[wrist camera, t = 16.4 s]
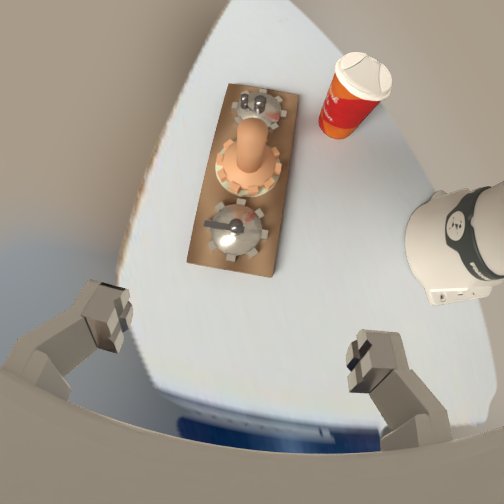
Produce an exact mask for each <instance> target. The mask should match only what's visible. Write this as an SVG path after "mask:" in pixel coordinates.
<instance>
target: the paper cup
mask: <svg viewBox="0 0 504 504" xmlns="http://www.w3.org/2000/svg"><path fill="white" fill-rule="evenodd" d="M391 86H392V77H391V75H390V73H389V71H388V69H387V68H386V67H385V66H384V65H383V64H382V63H381V64H380V63H379V62H378V60H376V59H374V58H372V57H369V56H366V54H365V53H360V52H352V53H348V54H346V55H345V56H344V57H341V58H340V59H339V60H338V61H337V62H336V64H335V74H334V77H333V80H332V83H331V85H330V88H329V91H328V93H327V96H326V99H325V102H324V104H323V107H322V110H321V113H320V116H319V126H320V128H321V130H322V131H323V132H324V133H325V134H326V135H328V136H329V137H331V138H334V139H344V138H346V137H348V136H349V135H350V134H351V133H352V132H353V131H354V130H355V129H356V128H357V127H358V125H359V124H360V123H361V122H362V121H363V120H364V119H365V118H366V117H367V116H368V115H369V113H370V112H371V111H372V110H373V109H374V108H375V107H376V106H377V105H378V104H379V102H380V101H381V100H384V99H386V98H387V97H388V96H389V95H390V93H391V88H392V87H391Z"/></svg>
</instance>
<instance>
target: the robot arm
mask: <svg viewBox="0 0 504 504" xmlns="http://www.w3.org/2000/svg"><path fill="white" fill-rule="evenodd" d="M405 249H406V255H407V259H408V262H409V265H410V268H411V270H412V272H413V274H414V275H415V277H416V278H417V279H418V281H419V282H420V283H421V284H422V285H423V287H424V288H425V291H426V294H427V297H428V299H429V302H430V303H431V304H432V305H440V304H447V303H453V302H459V301H465V300H471V299H477V298H482V297H487V296H488V295H489V294H490V292H491V289H492V287H493V285H499V284H501V283H502V281H503V279H504V181H503V182H502V183H499V184H497V185H495V186H493V187H489V186H487V187H483V188H478V189H475V190H473V191H472V192H471V191H469V189H461V190H458V191H455V192H452V193H449V194H447V193H445V192H444V191H437V192H435V193H434V195H433V196H432V198H431V199H430V201H429V202H428V203H426V204H424V205H422V206H420V207H419V208H418V209H416V210H415V212H414V213H413V214H412V216H411V218H410V220H409V222H408V225H407V229H406V235H405ZM441 295H442V298H441ZM129 298H130V293H129V290H128V289H125V288H122V287H118V286H114V285H111V284H107V283H104V282H100V281H96V280H92V279H90V280H89V281H88V282H87V283H86V284H85V286H84V287H83V289H82V290H81V292H80V293H79V295H78V297H77V298H76V300H75V302H74V303H73V305H72V306H71V308H70V310H69V311H68V312H67V311H64V312H62V313H61V314H59V315H57V316H55V317H54V318H52V319H50V320H49V321H47V322H45V323H44V324H42V325H40V326H39V327H37V328H35V329H34V330H32V331H30V332H29V333H27V334H25V335H24V336H22V337H20V338H19V339H17V341H16V343H15V344H14V346H13V348H12V350H11V352H10V353H9V355H8V357H7V359H6V361H5V363H4V364H3V366H2V367H0V504H504V426H503V427H500V428H497V429H494V430H491V431H487V432H484V433H480V434H476V435H473V436H469V437H465V438H461V439H457V440H452V435H451V430H450V424H449V419H448V414H447V410H446V409H445V408H444V407H443V405H442V404H441V403H440V402H439V401H438V399H437V398H436V397H435V396H434V395H433V393H432V392H431V391H430V390H429V389H428V388H427V386H426V385H425V384H424V383H423V382H422V380H421V379H420V378H419V377H418V376H417V375H416V373H415V372H414V371H413V370H409V367H408V363H407V359H406V355H405V351H404V347H403V343H402V339H401V336H400V334H399V333H396V332H385V331H376V330H365V329H362V330H360V331H359V332H358V334H357V340H355V341H353V342H352V343H351V344H350V346H349V347H348V350H347V354H346V366H347V368H348V369H349V370H350V371H351V372H350V374H349V375H348V386H349V392H351V393H370V394H369V395H370V397H371V399H372V400H373V402H374V404H375V405H376V407H377V408H378V410H379V412H380V413H381V415H382V416H383V418H384V420H385V421H386V423H387V425H388V426H389V428H390V429H391V431H392V432H391V433H389V434H387V435H386V436H384V437H383V438H382V439H381V440H380V442H381V452H369V453H352V454H297V453H279V452H267V451H256V450H247V449H239V448H232V447H225V446H219V445H213V444H208V443H202V442H197V441H192V440H187V439H183V438H178V437H174V436H170V435H165V434H162V433H158V432H154V431H151V430H147V429H144V428H140V427H137V426H133V425H130V424H127V423H124V422H121V421H118V420H115V419H112V418H109V417H106V416H103V415H101V414H98V413H95V412H93V411H90V410H87V409H85V408H82V407H80V406H77V405H75V404H73V403H70V402H68V398H69V396H70V393H71V388H70V386H69V385H68V383H67V382H66V381H65V379H64V378H63V377H64V376H65V375H67V374H68V373H69V372H70V371H72V370H73V369H74V368H75V367H76V366H77V365H79V364H80V363H81V362H82V361H84V360H85V359H86V358H87V357H89V356H90V355H91V354H92V353H93V352H95V351H96V350H97V348H99V349H102V350H106V351H109V352H113V353H117V354H118V353H119V350H120V348H121V346H122V343H123V341H124V337H123V332H125V331H127V330H128V329H129V327H130V324H131V321H132V317H133V307H132V304H131V303H130V302H129V301H128V300H129Z"/></svg>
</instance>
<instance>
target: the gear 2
mask: <svg viewBox="0 0 504 504" xmlns="http://www.w3.org/2000/svg"><path fill="white" fill-rule="evenodd" d="M245 203H246V200H245V199H239V198H237V203H236V204H232V205H228V206H225V205H224V204H223V203H222V202H220V203H219V204H217V205H216V206H215V209H216V211H217V213H216V214H215V216H214V217H213V219H212V221H211V220H205V221H204V229H205V230H208V231H210V233H211V237H212V241H210V242H209V243H208V246H209V247H210V249H211V250H212V252H214V251H215V250H217V249H219V250H220V251H222V252H223V253H225V254H227V257H226V261H230V262H235V259H236V256H241V255H245V254H247V255H248V256H249V257H250V259H251V258H252V257H254V256H255V255H257V254H258V252H257V250H256V249H255V247H256V246H257V244H258V242H259V240H267V236H268V230H263V229H262V225H261V221H260V219H262V218H263V217H264V214H263V212H262V211H261V209H260V208H259V209H257V210H256V211H253V210H252V209H251V208H249V207H247V206H245Z"/></svg>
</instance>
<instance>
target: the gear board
mask: <svg viewBox="0 0 504 504" xmlns="http://www.w3.org/2000/svg"><path fill="white" fill-rule="evenodd" d="M261 89H263V88H261ZM246 90H247V91H248V92H249V93H254V92H259V90H260V88H257V87H251V86H244V85H237V84H228V88H227V91H226V95H225V98H224V102H223V105H222V109H221V113H220V116H219V120H218V124H217V128H216V131H215V135H214V139H213V143H212V147H211V151H210V155H209V159H208V163H207V168H206V172H205V176H204V180H203V185H202V189H201V194H200V198H199V203H198V207H197V212H196V217H195V221H194V226H193V231H192V236H191V241H190V246H189V251H188V257H187V263H191V264H196V265H202V266H207V267H213V268H218V269H224V270H230V271H235V272H241V273H247V274H253V275H259V276H264V277H270V278H271V277H272V276H273V270H274V264H275V258H276V251H277V245H278V239H279V232H280V226H281V219H282V213H283V206H284V199H285V193H286V186H287V179H288V172H289V165H290V158H291V150H292V143H293V136H294V128H295V121H296V113H297V105H298V97H299V95H295V94H290V93H285V92H280V91H275V90H269V89H267V93H266V94H269V95H271V96H273V97H274V98H275V97H277V96H280V98H281V99H282V100H283V103H282V105H281V110H284V111H287V114H286V119H285V121H281V120H279V122H278V123H277V124H278V126H279V128H278V131H276V132H274V133H271V132H270V131H269V130H268V135H267V139H268V140H267V146H268V147H269V148H270V149H271V148H273V147H276V148H277V150H278V152H279V153H280V155H279V158H278V159H276V163H280V164H282V166H281V172H280V175H279V176H276V175H273V176H272V178H273V179H274V180H275V184H274V186H272V187H271V188H270V189H269V190H268V191H267V190H266V189H265V188H264V187H262V188H260V189H258V191H259V192H258V195H256V196H248V191H246V190H241V189H240V191H239V192H238V194H235V193H233V192H231V191H229V186H230V183H229V182H228V181H225V182H222V183H221V181H220V179H219V177H218V173H217V171H219V170H221V169H222V166H218V165H216V159H217V154H218V153H222V154H224V152H225V150H224V145H223V144H224V143H225V142H227V141H228V140H229V139H231V140H232V141H233V142H236V141H237V129H238V127H237V126H236V125H235V123H234V118H236V117H237V113H235V112H231V107H232V103H233V102H239V101H240V99H241V98H240V93H242V92H244V91H246ZM237 198H239V199H245V200H246V203H245V206H247V207H249V208H251V209H252V210H253V211H256V210H257V209H259V208H260V209H261V211H262V212H263V214H264V217H263V218H262V219H260V221H261V225H262V229H263V230H268V236H267V240H259V242H258V244H257V246H256V247H255V249H256V250H257V252H258V254H257V255H255V256H254V257H252V258H251V259H250V257H249V256H248V255H247V254H245V255H241V256H236V259H235V262H230V261H226V257H227V254H225V253H223V252H222V251H220V250H219V249H217V250H215V251H214V252H212V250H211V249H210V247H209V246H208V243H209V242H210V241H212V237H211V233H210V231H208V230H205V229H204V221H205V220H211V221H212V219H213V217H214V216H215V214H216V213H217V211H216V209H215V206H216V205H217V204H219V203H220V202H222V203H223V204H224V205H225V206H228V205H232V204H236V203H237Z"/></svg>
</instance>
